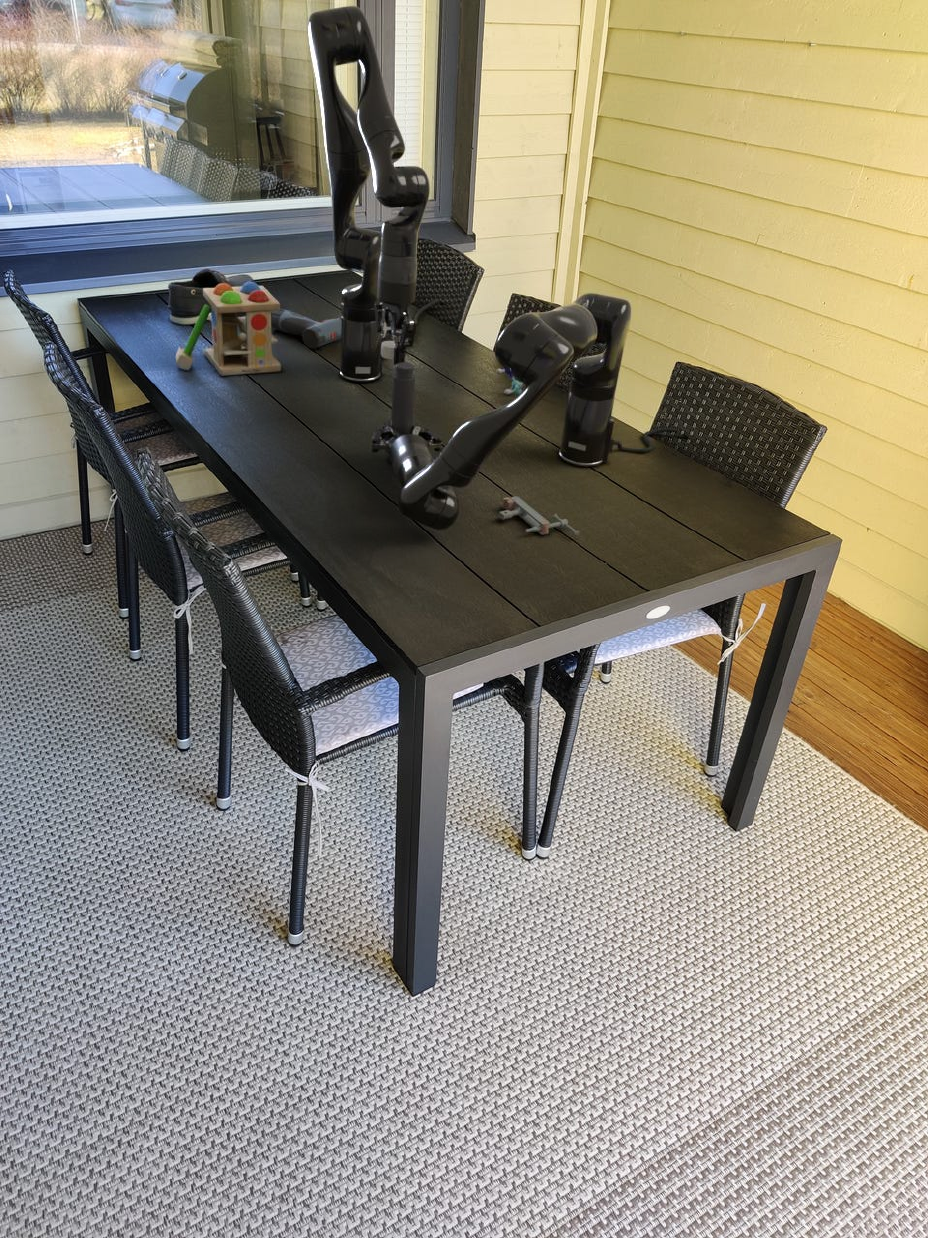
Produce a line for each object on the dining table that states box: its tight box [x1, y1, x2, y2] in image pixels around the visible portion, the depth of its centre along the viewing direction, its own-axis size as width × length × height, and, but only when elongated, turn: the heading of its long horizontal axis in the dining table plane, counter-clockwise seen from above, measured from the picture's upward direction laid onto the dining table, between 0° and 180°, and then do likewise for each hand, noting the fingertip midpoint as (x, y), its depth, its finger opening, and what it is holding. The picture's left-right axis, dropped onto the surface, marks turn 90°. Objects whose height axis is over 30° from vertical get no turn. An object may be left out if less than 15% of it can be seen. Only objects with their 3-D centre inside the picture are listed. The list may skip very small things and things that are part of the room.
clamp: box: [498, 496, 580, 537], centre depth 177 cm, size 15×2×10 cm
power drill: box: [271, 308, 341, 349], centre depth 252 cm, size 5×19×20 cm
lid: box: [381, 340, 395, 361], centre depth 201 cm, size 5×5×2 cm
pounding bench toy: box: [174, 282, 282, 377], centre depth 225 cm, size 23×14×18 cm, turn 116°
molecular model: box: [496, 368, 526, 396], centre depth 227 cm, size 12×10×10 cm
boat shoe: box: [167, 268, 256, 325], centre depth 261 cm, size 13×33×10 cm, turn 147°
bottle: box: [389, 361, 416, 464], centre depth 190 cm, size 4×4×20 cm
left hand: (392, 360), depth 202 cm, fingers closed on lid, 4 cm apart
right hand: (399, 424), depth 194 cm, fingers closed on bottle, 4 cm apart
